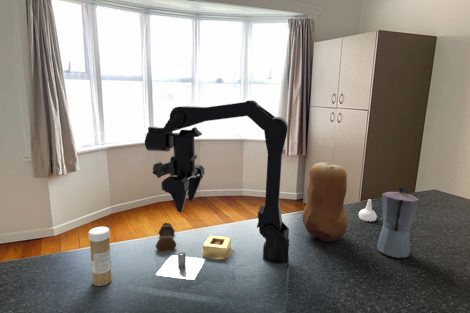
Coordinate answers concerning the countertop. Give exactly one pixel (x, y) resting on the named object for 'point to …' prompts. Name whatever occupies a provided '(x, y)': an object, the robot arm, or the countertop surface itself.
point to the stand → (219, 257)
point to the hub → (181, 267)
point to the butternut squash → (326, 202)
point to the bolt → (166, 238)
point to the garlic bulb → (368, 213)
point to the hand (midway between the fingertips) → (185, 206)
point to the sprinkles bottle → (100, 255)
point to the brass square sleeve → (217, 246)
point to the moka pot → (397, 223)
